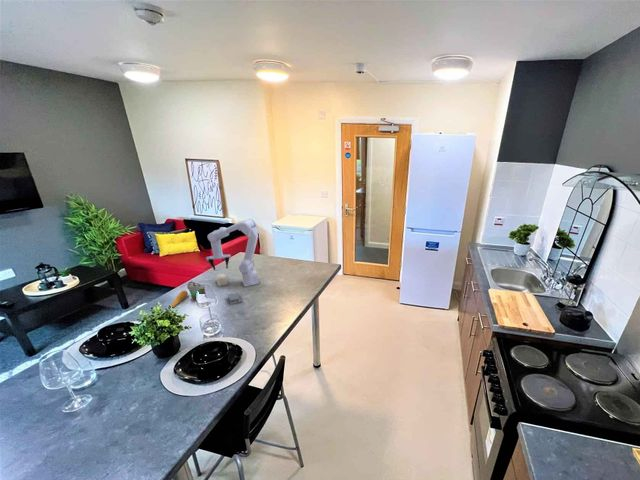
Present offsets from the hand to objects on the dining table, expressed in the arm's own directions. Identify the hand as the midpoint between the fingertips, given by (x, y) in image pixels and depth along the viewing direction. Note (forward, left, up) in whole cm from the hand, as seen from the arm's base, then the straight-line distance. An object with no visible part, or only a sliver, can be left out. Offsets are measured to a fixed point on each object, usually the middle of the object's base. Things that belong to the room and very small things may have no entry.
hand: (221, 268), depth 195 cm
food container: (+17, +19, -10) cm, 28 cm away
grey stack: (-3, +31, -9) cm, 33 cm away
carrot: (+27, +20, -10) cm, 35 cm away
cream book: (+1, +2, -7) cm, 7 cm away
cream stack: (+1, +2, -9) cm, 10 cm away
